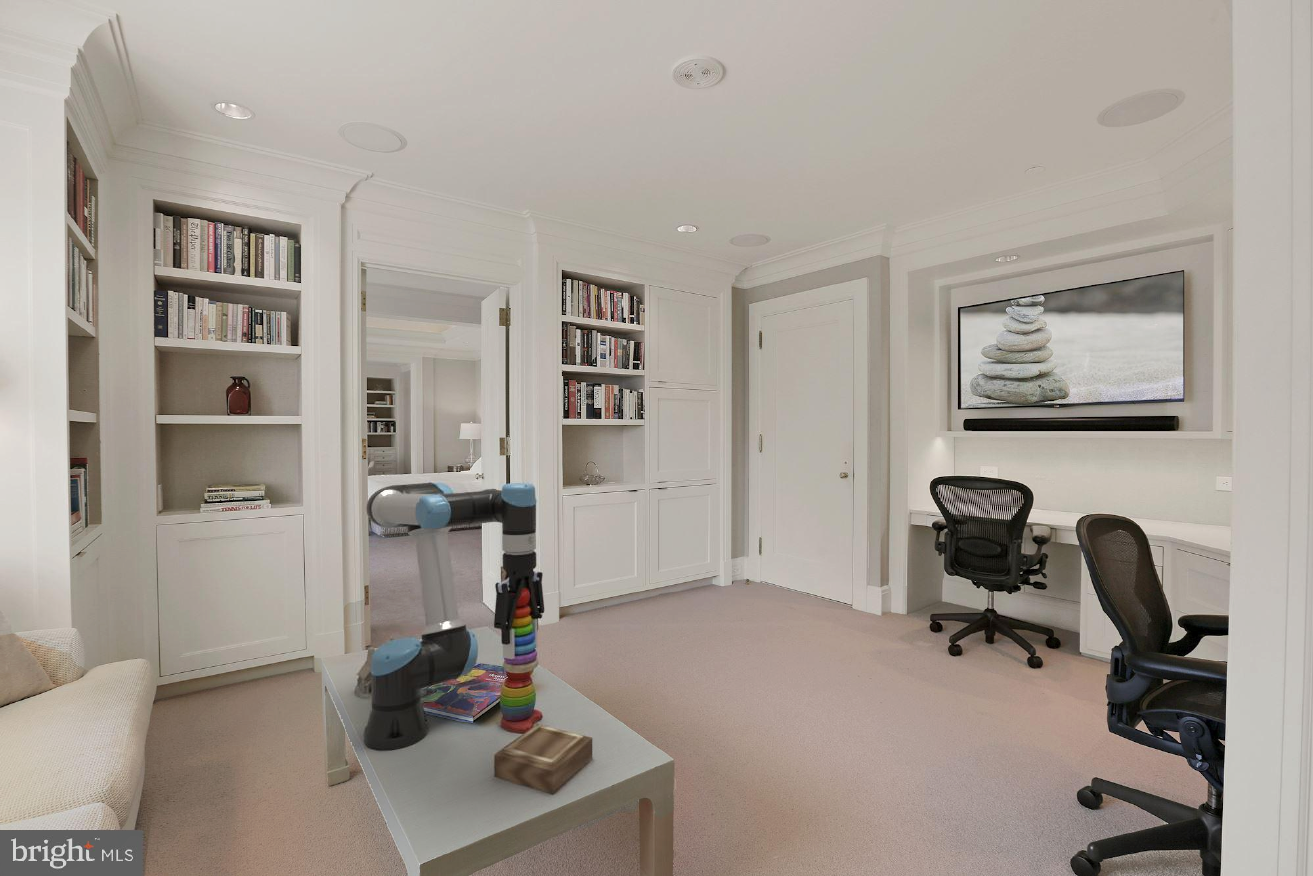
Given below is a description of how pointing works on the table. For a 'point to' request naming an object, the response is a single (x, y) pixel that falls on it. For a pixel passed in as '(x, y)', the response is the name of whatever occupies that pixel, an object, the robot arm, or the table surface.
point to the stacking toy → (522, 638)
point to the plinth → (543, 758)
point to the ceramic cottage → (365, 677)
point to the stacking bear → (518, 702)
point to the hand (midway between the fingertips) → (520, 652)
